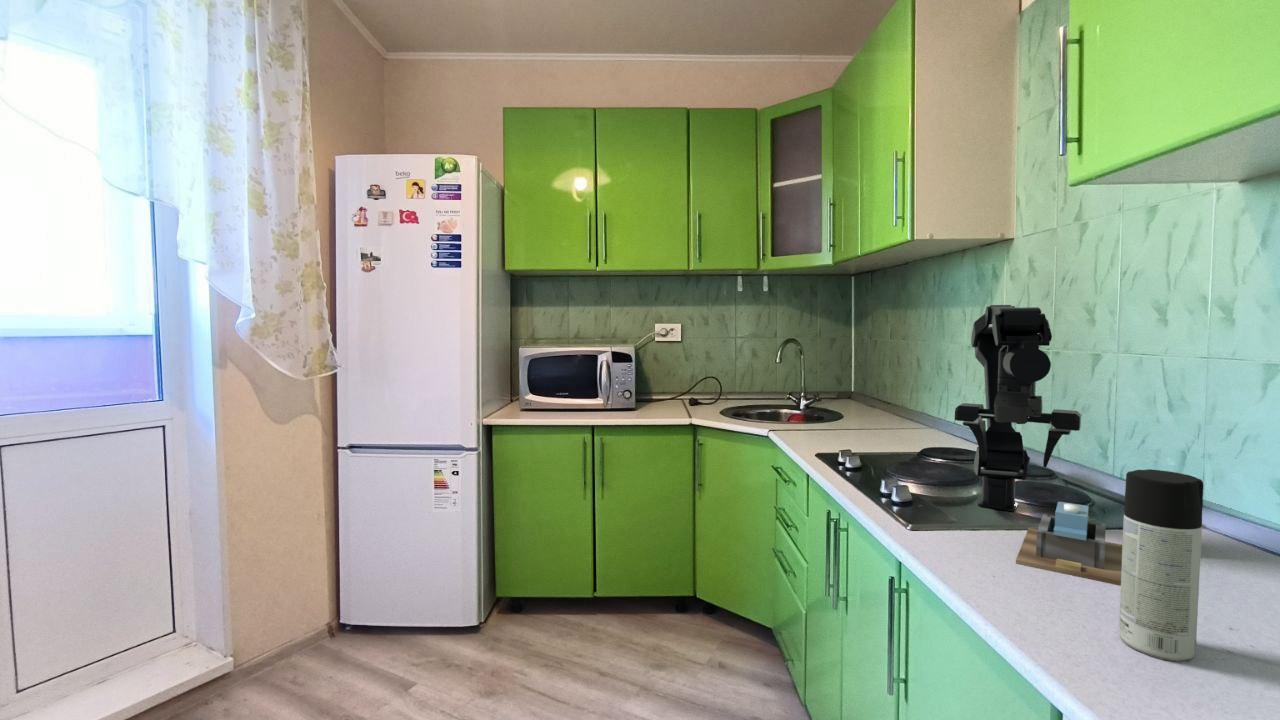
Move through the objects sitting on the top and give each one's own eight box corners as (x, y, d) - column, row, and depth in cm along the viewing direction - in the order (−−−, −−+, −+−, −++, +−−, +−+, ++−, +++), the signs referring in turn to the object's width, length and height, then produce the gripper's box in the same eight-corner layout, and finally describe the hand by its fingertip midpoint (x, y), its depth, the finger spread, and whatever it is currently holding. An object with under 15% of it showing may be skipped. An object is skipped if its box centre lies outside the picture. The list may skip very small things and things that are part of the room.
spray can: (1211, 657, 65) (1220, 480, 64) (1168, 668, 63) (1177, 485, 62) (1144, 628, 71) (1151, 466, 70) (1103, 636, 69) (1110, 470, 68)
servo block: (1057, 538, 99) (1059, 492, 99) (1087, 544, 97) (1089, 496, 96) (1052, 560, 90) (1054, 509, 90) (1085, 566, 88) (1087, 514, 87)
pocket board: (1028, 531, 105) (1029, 506, 104) (1122, 548, 97) (1123, 521, 96) (1015, 563, 91) (1016, 534, 90) (1124, 586, 83) (1125, 554, 82)
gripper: (949, 378, 104) (947, 464, 105) (1079, 383, 93) (1076, 480, 93) (961, 374, 113) (959, 453, 114) (1082, 378, 101) (1079, 467, 102)
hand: (1014, 463), depth 106 cm, fingers open, 9 cm apart
